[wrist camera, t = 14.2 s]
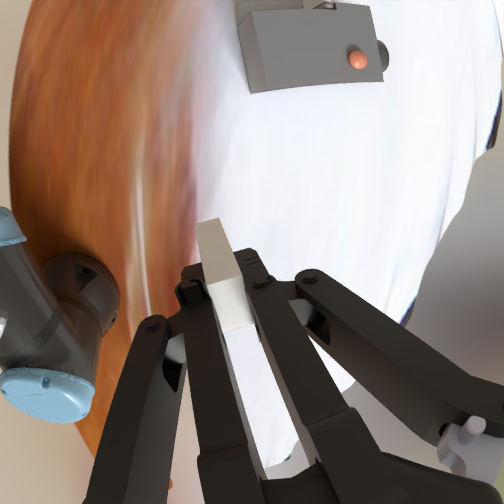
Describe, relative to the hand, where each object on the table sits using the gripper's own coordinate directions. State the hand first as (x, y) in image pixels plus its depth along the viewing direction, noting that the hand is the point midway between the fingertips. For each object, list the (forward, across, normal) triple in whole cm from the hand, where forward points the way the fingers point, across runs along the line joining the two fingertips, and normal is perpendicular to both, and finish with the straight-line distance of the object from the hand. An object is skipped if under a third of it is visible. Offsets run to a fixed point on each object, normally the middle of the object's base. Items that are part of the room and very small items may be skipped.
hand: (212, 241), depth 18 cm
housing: (+24, +19, +14) cm, 34 cm away
